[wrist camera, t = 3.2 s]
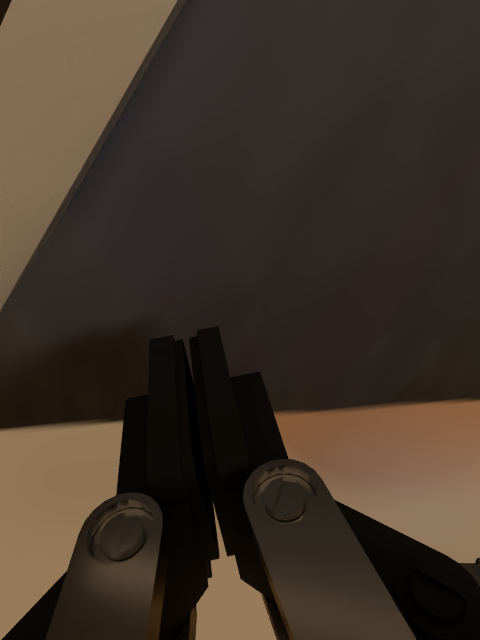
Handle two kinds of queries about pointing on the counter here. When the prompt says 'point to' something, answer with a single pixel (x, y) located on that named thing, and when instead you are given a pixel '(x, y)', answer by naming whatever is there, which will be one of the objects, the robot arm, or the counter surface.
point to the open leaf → (63, 106)
